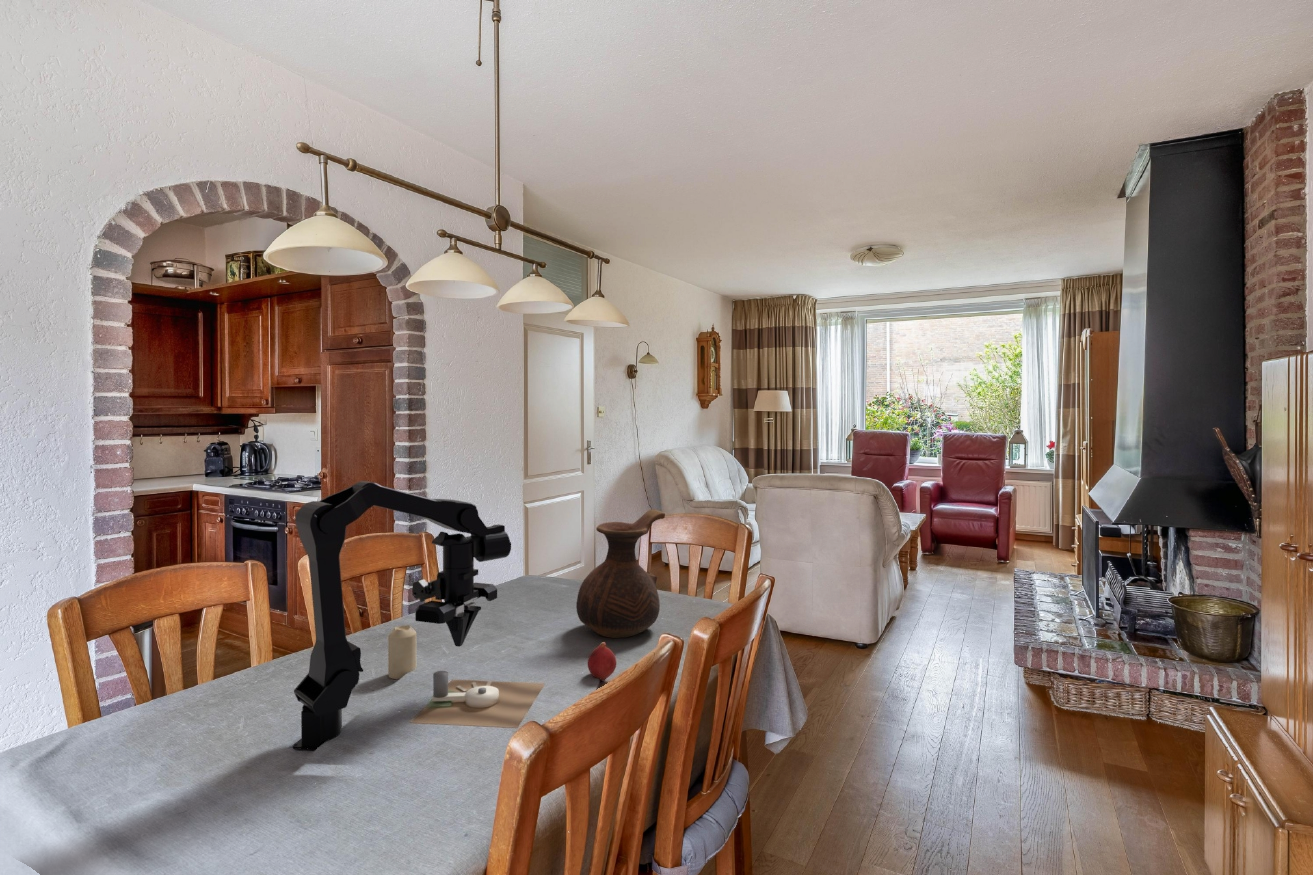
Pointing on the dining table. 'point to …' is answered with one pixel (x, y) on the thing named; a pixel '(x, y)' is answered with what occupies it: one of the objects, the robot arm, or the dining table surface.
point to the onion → (602, 662)
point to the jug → (620, 584)
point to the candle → (401, 651)
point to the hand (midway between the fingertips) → (458, 645)
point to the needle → (472, 697)
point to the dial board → (502, 714)
